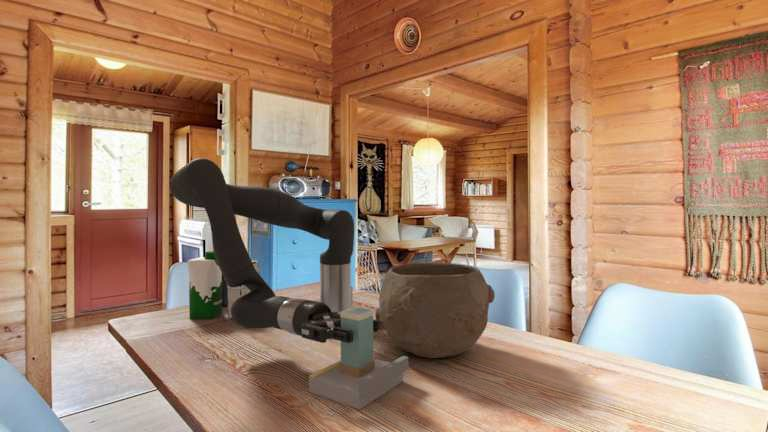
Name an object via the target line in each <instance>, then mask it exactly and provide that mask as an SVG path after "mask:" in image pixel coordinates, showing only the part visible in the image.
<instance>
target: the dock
mask: <svg viewBox="0 0 768 432" xmlns="http://www.w3.org/2000/svg"><path fill="white" fill-rule="evenodd" d="M373 361H375V370H373V371H371V372H369V373H367V374H366V375H364V376H362V377H360V378H357V377H354V376H351V375H348V374H344V373H341V372H339V364H340V363H341V360H339V361H337V362H334V363H333V364H330V365H329V366H326V367H324V368H322V369H320V370H318V371H315V372H313V373H311V374H310V375H308V392H309V393H312V394H314V395H318V396H320V397H323V398H326V399H329V400H332V401H334V402H337V403H340V404H343V405H345V406H348V407H352V408H353V409H357V410H361V409H362V408H364V407H365V406H368V405H369V404H370V403H371V402H373V401H375V400H376V399H378V398H380V397H381V396H383V395H384V394H386V393H387V392H389V391H390V390H391V389H393V388H395V387H396V386H398V385H400V384H401V383H403V381H404V372H406V371H408V370H409V356H406V355H402V356H400V357H398V358H396V359H395V360H392V361H391V362H389V361H386V360H383V359H382V360H381V359H377V358H374V357H373Z"/></svg>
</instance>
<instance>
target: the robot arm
mask: <svg viewBox="0 0 768 432" xmlns="http://www.w3.org/2000/svg"><path fill="white" fill-rule="evenodd" d="M171 176H172V177H171V178H170V180H169V190H170V192H171V195H172V196H173V197H174V198H175V200H177V201H179V202H180V203H181V204H184V205H186V206H190V207H196V208H201V209H204V210H205V212H206V215H207V217H208V221H209V225H210V231H211V241H212V249H213V251H214V255H215V258H216V261H217V263H218V266H219V268H220V270H221V272H222V275H223V277H224V279H225V281H226V283H227V285H228V286H229V287H232V288H233V287H239V286H242V285H245V286H246V287H247V288H248V289H249V290H250V291H251V292H249V293H247V294H246V295H244V296H242V297H240V298H238V299H237V300H236V301H235V302H234V303H233V304H232V307H231V316H232V318H233V319H232V318H231V319H232V320H233V321H234V322H235V323H236V325H239V326H240V327H242V328H245V329H251V330H252V329H254V330H255V329H268V328H272V329H277V330H281V331H284V332H287V333H288V334H292V335H295V336H299V337H301V338H302V339H303V338H304V339H307V340H310V341H314V342H317V343H321V344H323V343H324V344H325V343H327V340H328V341H331V342H334V341H339V342H341V341H342V342H346V343H351V342H353V331H352V330H348V329H344V328H341V317H340V312H341V311H344V310H347V309H350V308H354V306H353V305H354V304H353V302H354V300H353V297H354V295H353V293H354V292H353V291H354V289H353V287H352V284H351V283H352V282H351V281H352V278H351V277H352V274H351V271H352V269H351V266H352V263H351V262H352V261H351V259H352V256H353V252H354V242H355V222H354V218H353V215H352V214H351V213H350V212H349V211H348V210H345V209H324V208H318V207H314V206H309V205H307V204H304V203H303V202H301V201H300V200H299V199H298V198H296V197H295V196H294V195H292V194H289V193H287V192H284V191H281V190H278V189H275V188H272V187H268V186H259V185H257V186H256V185H236V184H230V183H227V182H226V179H225V176H224V173H223V171H222V170H221V168H220V167H219V165H218V164H217V163H216V162H214V161H213V160H211V159H208V158H204V157H203V158H202V157H199V158H196V159H195V158H194V159H192V161H189V162H188V163H186V164H185V165H184V166H183V167H181V168H180V169H178V170H177V171H176V172H175V173H174V174H173V175H171ZM236 215H237V216H240V217H242V218H248V219H250V220H254V221H257V222H260V223H266V224H269V225H272V226H277V227H281V228H285V229H286V228H287V229H295V230H300V231H304V232H306V233H309V234H310V235H311V234H312V235H314V236H316V237H318V238H321V239H324V240H329V241H328V248H327V249H326V250H325V251H323V252H322V253H321V254H320V255H319V301H316V300H310V299H304V298H298V297H297V298H294V297H293V298H292V297H289V296H282V295H281V296H280V295H278V296H277V295H276V294H275V292H274V291H273V289H272V288H271V287H270V285H269V284H268V283H267V282H266V281H265V279H263V277H262V276H261V274H260V273H259V271H258V272H257V271H256V269H255V268H254V265H253V263H252V261H253V260H252V258H251V257H250V254H249V251H248V249H247V247H246V245H245V243H244V241H243V238H242V236H241V233H240V229H239V226H238V223H237V219H236ZM379 331H380V330H379V321H378V320H376V318H375V319H374V318H373V333H374V332H375V333H377V332H379Z"/></svg>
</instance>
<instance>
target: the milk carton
mask: <svg viewBox="0 0 768 432" xmlns="http://www.w3.org/2000/svg"><path fill="white" fill-rule="evenodd" d="M187 268H188V269H187V270H188V291H189V292H188V297H189V299H188V300H189V302H188V303H189V308H188V309H189V319H190V320H192V319H193V320H194V319H195V320H196V319H197V320H199V319H200V320H203V319H204V320H213V319H214V318H216V317H218V316H219V315H221V314H222V313H223V307H222V272H221V270H220V268H219V266H218V263H217V261H216V258H215V255H214V250H213V251H211V250H210V251H205V253H204V257H202V256H199V257H196V258H191V259H188V260H187Z"/></svg>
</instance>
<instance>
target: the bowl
mask: <svg viewBox="0 0 768 432" xmlns="http://www.w3.org/2000/svg"><path fill="white" fill-rule="evenodd" d="M495 296H496V295H495V291H494V289H493V288H492V286H491V285H489V284H488V283H487V281H486V278H484V275H483V273H482V271H481V270H480V269H479V268H478V267H476V266H472V265H467V264H461V263H450V262H448V263H447V262H415V263H404V264H398V265H394V266H391V267H390V268H389V269H388V271H387V272H386V274H385V275H384V278H383V280H382V283H381V286H380V291H379V296H378V297H379V299H378V302H379V303H378V305H379V308H376V309H375V313H374V314H375V320H378V321H379V331H385V332H386V333H387V334H388V335H389V337H390V338H391V339H392V340H393V341H394V342H395V343H396V345H398V346H399V347H401V348H402V349H403V350H404V351H405V352H407V353H410V354H412V355H415V356H418V357H422V358H427V359H437V358H448V357H452V356H453V357H454V356H456V355H458V354H462V353H464V352H466V351H468V350H470V348H471V347H473V346H474V345H475V344H476V343H477V342H478V340H479V339H480V338H481V336H482V334H484V332H485V330H486V328H487V325H488V321H489V320H488V316H489V307H490V304H492V303H493V302H494V300H495V298H496V297H495Z"/></svg>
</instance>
